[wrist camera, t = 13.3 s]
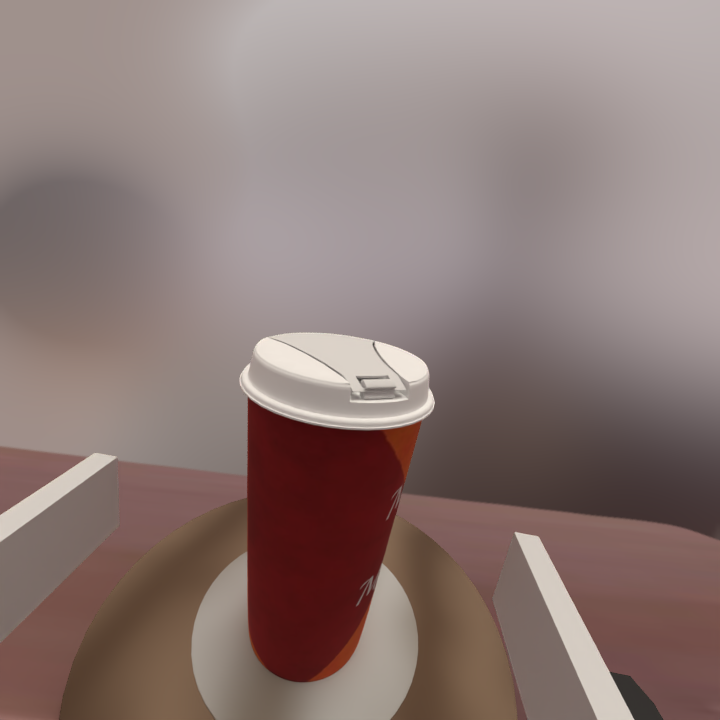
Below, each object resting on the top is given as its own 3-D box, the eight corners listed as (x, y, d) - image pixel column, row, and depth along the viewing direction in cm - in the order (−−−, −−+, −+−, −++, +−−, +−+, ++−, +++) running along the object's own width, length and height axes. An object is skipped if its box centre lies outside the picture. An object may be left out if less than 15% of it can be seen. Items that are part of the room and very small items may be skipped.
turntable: (460, 539, 29) (466, 517, 28) (606, 1119, 9) (635, 1086, 9) (209, 493, 29) (210, 470, 29) (-136, 949, 10) (-155, 908, 9)
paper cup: (411, 672, 17) (485, 387, 13) (236, 749, 13) (264, 394, 10) (345, 545, 24) (381, 331, 20) (216, 575, 20) (228, 324, 16)
